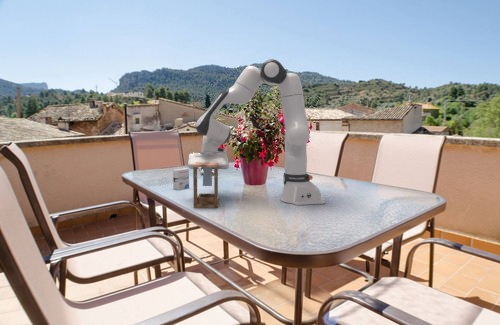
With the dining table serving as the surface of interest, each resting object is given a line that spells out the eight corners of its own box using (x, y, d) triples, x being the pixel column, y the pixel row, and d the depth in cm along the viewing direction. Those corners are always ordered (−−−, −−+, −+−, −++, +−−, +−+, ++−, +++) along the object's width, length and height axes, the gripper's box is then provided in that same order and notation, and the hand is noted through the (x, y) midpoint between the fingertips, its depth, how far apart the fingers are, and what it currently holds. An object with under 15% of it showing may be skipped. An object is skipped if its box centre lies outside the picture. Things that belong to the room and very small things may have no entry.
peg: (211, 185, 148) (212, 165, 148) (211, 186, 144) (211, 165, 144) (203, 185, 148) (204, 165, 148) (202, 185, 144) (203, 165, 144)
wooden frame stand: (219, 200, 152) (219, 161, 149) (217, 207, 138) (217, 165, 135) (197, 200, 151) (197, 161, 149) (193, 207, 137) (193, 164, 135)
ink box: (183, 186, 183) (183, 167, 181) (189, 188, 180) (189, 168, 178) (172, 189, 176) (172, 169, 174) (178, 190, 173) (178, 170, 172)
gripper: (188, 148, 151) (185, 170, 143) (228, 149, 152) (228, 171, 143) (190, 156, 156) (186, 178, 148) (229, 157, 157) (228, 178, 148)
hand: (207, 174), depth 145 cm, fingers closed on peg, 4 cm apart
